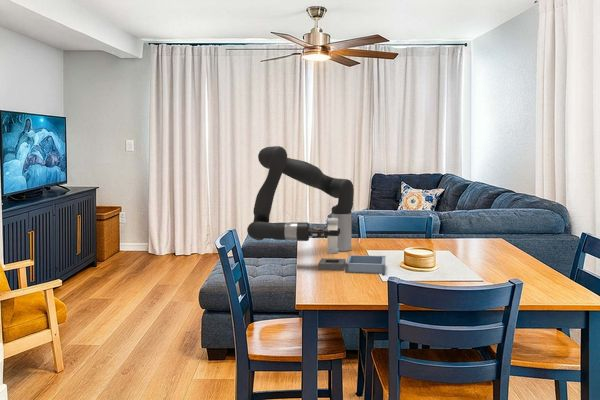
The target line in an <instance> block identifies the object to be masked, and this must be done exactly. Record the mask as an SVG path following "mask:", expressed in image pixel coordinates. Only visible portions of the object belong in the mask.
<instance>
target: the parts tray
mask: <svg viewBox="0 0 600 400" xmlns="http://www.w3.org/2000/svg"><path fill="white" fill-rule="evenodd" d="M344 272H345V273H346V274H371V275H372V274H374V275H375V274H378V275H380V274H381V276H385V274H386V255H367V254H365V255H363V254H361V255H360V254H359V255H358V254H348V256H347V259H346V263H345V268H344Z"/></svg>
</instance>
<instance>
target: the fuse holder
mask: <svg viewBox="0 0 600 400" xmlns="http://www.w3.org/2000/svg"><path fill="white" fill-rule="evenodd" d="M346 261H347V259H346V258H327V257H326V258H324V257H321V258H320V260H319V262H318V263H317V266H318V267H317V270H318V271H337V272H339V271H340V272H341V271H342V272H345V263H346Z"/></svg>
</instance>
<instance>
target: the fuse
mask: <svg viewBox="0 0 600 400" xmlns="http://www.w3.org/2000/svg"><path fill="white" fill-rule="evenodd" d="M326 225H327V227H328V230H329V231H330V230H338V218H332V217H327V218H326ZM326 250H327V251H326V253H327V254H328V255H337V254H339V251H338V236H330V235H329V237H327V248H326Z"/></svg>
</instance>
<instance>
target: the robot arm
mask: <svg viewBox="0 0 600 400" xmlns="http://www.w3.org/2000/svg"><path fill="white" fill-rule="evenodd" d="M257 157H258V162H259V164H260V165H261V166H262V167H263V168H265V169H267V170H268V173H267V176H266V178H265V180H264V182H263V183H262V185H261V187H260V188H259V190H258V192H257V194H256V198H255V201H254V206H253V210H252V211H253V213H252V214H253V215H254V216H253V221H251V222H250V224H249V225H248V226H247V229H246V230H247V231H246V232H247V234H248V236H249V237H250V238H251V239H253V240H255V241H263V240H265V239H269V240H270V239H273V240H276V241H291V242H308V241H309V240H310V237H312V238H311V239H317V238H319V239H321V238H323V239H324V238H328V237H329V235H330V236H338V252H348V251H351V250H352V209H353V207H354V194H355V190H354V183H353V182H352V180H351V179H347V178H338V177H337V178H336V177H332V176H329V175H327V174H325V173H324V172H323V171H322V170H321V169H320V168H319V167H317V166H316V165H314V164H312V163H310V162H307V161H304V160H299V159H295V158H291V157H288V153H287V150H286V149H285V148H284V147H282V146H280V145H275V146H274V145H273V146H267V147H264V148H261V149H260V150H259V153H258V155H257ZM282 174H283V175H285V176H287V177H289V178H291V179H293V180H295V181H298V182H299V183H301V184H304V185H306V186H309V187H311V188H315V189H317V190H320V191H322V192H323V193H325V194H327V195H329V196H330V197H332V198H334V199H337V204H336V205H334V206H332V207H331V218H338V230H330V231H329V230H328V226H323V225H321V226H319V225H317V226H313V227H310V223H309V222H305V221H304V222H303V221H302V222H300V221H299V222H296V221H295V222H294V221H290V222H270V215H271V211H272V206H273V203H274V197H275V194H276V191H277V188H278V185H279V183H280V180H281V178H282Z"/></svg>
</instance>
